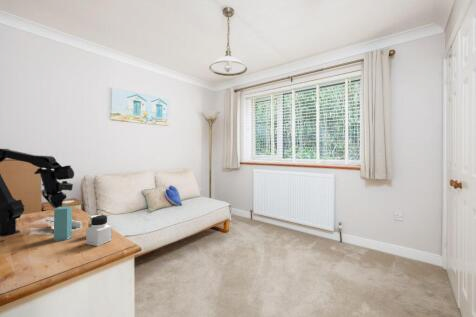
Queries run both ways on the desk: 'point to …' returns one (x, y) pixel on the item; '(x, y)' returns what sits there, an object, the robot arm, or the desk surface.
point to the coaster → (63, 239)
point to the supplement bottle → (90, 221)
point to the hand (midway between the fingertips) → (57, 209)
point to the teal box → (62, 222)
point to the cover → (52, 219)
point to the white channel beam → (76, 225)
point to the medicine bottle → (98, 231)
